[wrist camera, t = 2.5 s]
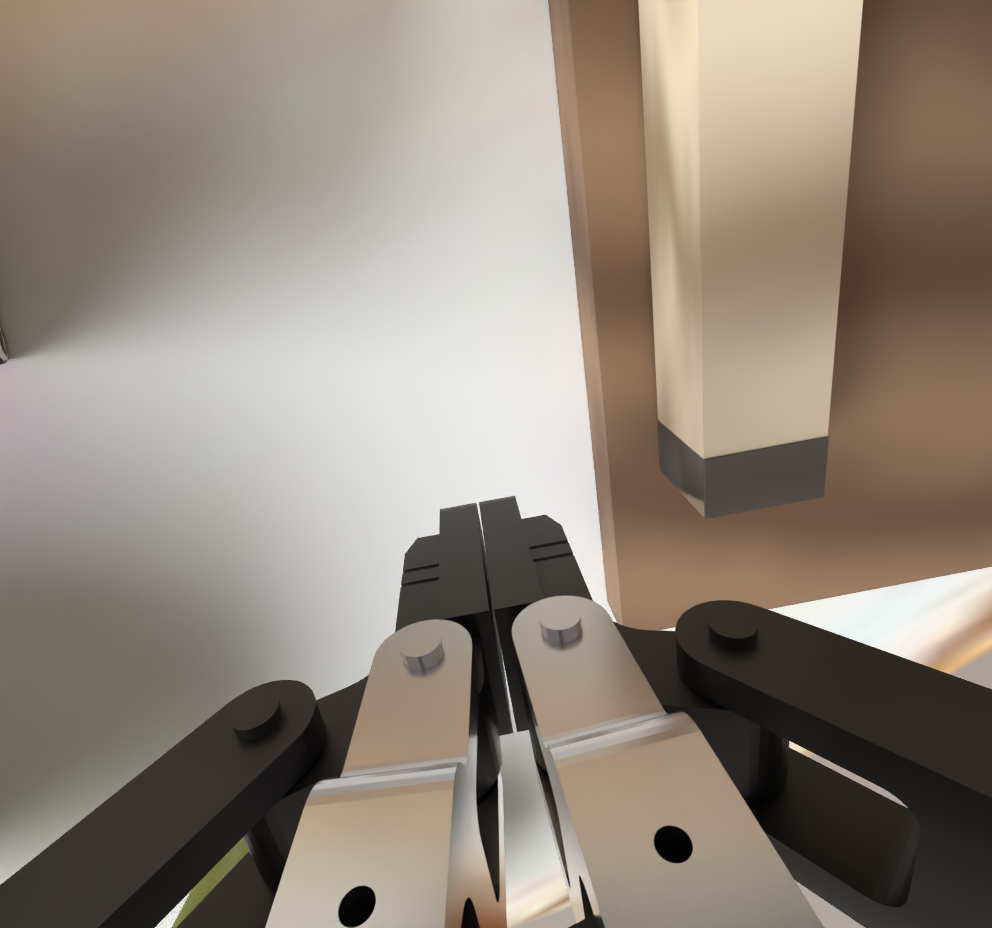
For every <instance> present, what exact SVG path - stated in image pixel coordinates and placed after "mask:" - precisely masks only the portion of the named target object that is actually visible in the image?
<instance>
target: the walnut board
mask: <svg viewBox="0 0 992 928" xmlns="http://www.w3.org/2000/svg"><path fill="white" fill-rule="evenodd" d="M548 1H549V11H550V21H551V31H552V42H553V52H554V62H555V72H556V82H557V93H558V103H559V113H560V123H561V133H562V143H563V154H564V164H565V174H566V184H567V194H568V204H569V215H570V225H571V235H572V245H573V255H574V266H575V276H576V286H577V296H578V306H579V316H580V327H581V337H582V347H583V357H584V367H585V377H586V388H587V398H588V408H589V418H590V428H591V439H592V449H593V459H594V469H595V479H596V489H597V500H598V510H599V520H600V530H601V540H602V550H603V561H604V571H605V581H606V591H607V601H608V603H609V606H610V608H611V610H612V612H613V614H614V617H615V619H616V621H617V623H618V624H620V625H623V626H627V627H630V628H635V629H642V630H656V631H658V630H663V629H668V628H673V627H676V624H677V621H678V619H679V618H680V616H681V615H682V614H683V613H684V612H685V611H687V610H688V609H690V608H691V607H693V606H695V605H698V604H701V603H704V602H709V601H717V600H732V601H740V602H745V603H749V604H753V605H756V606H759V607H762V608H765V609H773V608H778V607H783V606H788V605H794V604H799V603H804V602H809V601H814V600H820V599H825V598H830V597H835V596H841V595H846V594H851V593H856V592H861V591H867V590H872V589H877V588H882V587H888V586H893V585H898V584H903V583H909V582H914V581H919V580H924V579H929V578H935V577H940V576H945V575H950V574H956V573H961V572H966V571H971V570H977V569H982V568H987V567H992V0H863V8H862V20H861V32H860V45H859V57H858V69H857V82H856V94H855V106H854V119H853V131H852V143H851V155H850V168H849V180H848V192H847V205H846V217H845V229H844V242H843V254H842V266H841V278H840V291H839V303H838V315H837V328H836V340H835V352H834V365H833V377H832V389H831V401H830V414H829V426H828V437H829V443H828V456H827V468H826V480H825V492H824V497H822V498H817V499H811V500H806V501H801V502H795V503H790V504H785V505H779V506H774V507H769V508H763V509H758V510H752V511H747V512H742V513H736V514H731V515H726V516H720V517H715V518H710V519H705V518H704V517H703V516H702V515H701V514H700V513H699V512H698V511H697V510H696V509H695V507H694V506H693V505H692V504H691V503H690V502H689V501H688V500H687V499H686V498H685V497H684V496H683V494H682V493H681V492H680V491H679V490H678V489H677V488H676V487H675V486H674V485H673V484H672V483H671V481H670V480H669V479H668V478H667V477H666V476H665V475H664V474H663V473H662V472H661V471H660V463H659V442H658V421H657V419H658V408H657V387H656V366H655V344H654V323H653V302H652V280H651V259H650V238H649V217H648V195H647V174H646V153H645V131H644V110H643V89H642V67H641V46H640V25H639V4H638V0H548Z"/></svg>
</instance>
